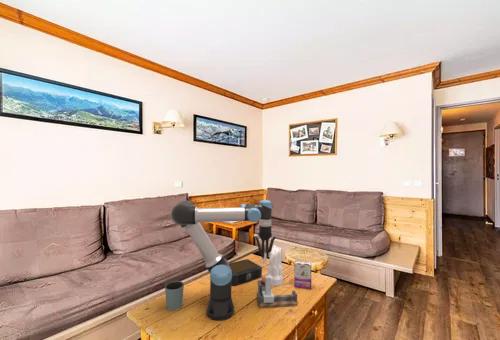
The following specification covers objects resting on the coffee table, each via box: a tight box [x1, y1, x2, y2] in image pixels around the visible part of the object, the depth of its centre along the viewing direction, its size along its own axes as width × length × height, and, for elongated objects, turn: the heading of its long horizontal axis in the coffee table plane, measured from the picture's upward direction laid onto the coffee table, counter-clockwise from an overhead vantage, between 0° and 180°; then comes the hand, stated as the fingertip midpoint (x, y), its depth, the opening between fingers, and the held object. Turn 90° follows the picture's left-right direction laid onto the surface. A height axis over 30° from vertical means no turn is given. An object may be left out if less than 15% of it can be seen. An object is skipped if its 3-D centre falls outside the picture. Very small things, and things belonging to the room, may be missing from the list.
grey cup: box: [164, 280, 185, 311], centre depth 132 cm, size 10×10×12 cm
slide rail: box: [256, 290, 298, 309], centre depth 137 cm, size 23×8×6 cm, turn 98°
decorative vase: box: [267, 244, 284, 287], centre depth 162 cm, size 11×11×25 cm
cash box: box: [228, 258, 263, 287], centre depth 170 cm, size 25×20×8 cm
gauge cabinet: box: [257, 279, 265, 296], centre depth 145 cm, size 7×6×8 cm
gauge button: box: [261, 275, 266, 284], centre depth 145 cm, size 3×3×4 cm
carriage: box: [262, 275, 274, 303], centre depth 136 cm, size 6×6×14 cm
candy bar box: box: [293, 260, 312, 290], centre depth 156 cm, size 11×5×16 cm, turn 76°
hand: (264, 263), depth 145 cm, fingers closed
